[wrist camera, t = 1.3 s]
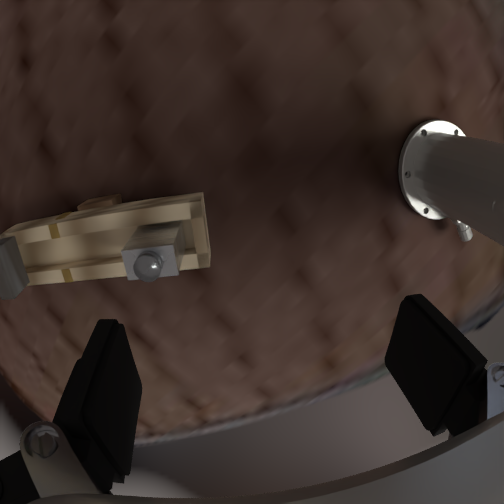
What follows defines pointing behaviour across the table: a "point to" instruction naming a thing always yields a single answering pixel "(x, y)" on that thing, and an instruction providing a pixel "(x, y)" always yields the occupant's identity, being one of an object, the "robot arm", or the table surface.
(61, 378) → the table surface
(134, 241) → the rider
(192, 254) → the beam
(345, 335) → the table surface
